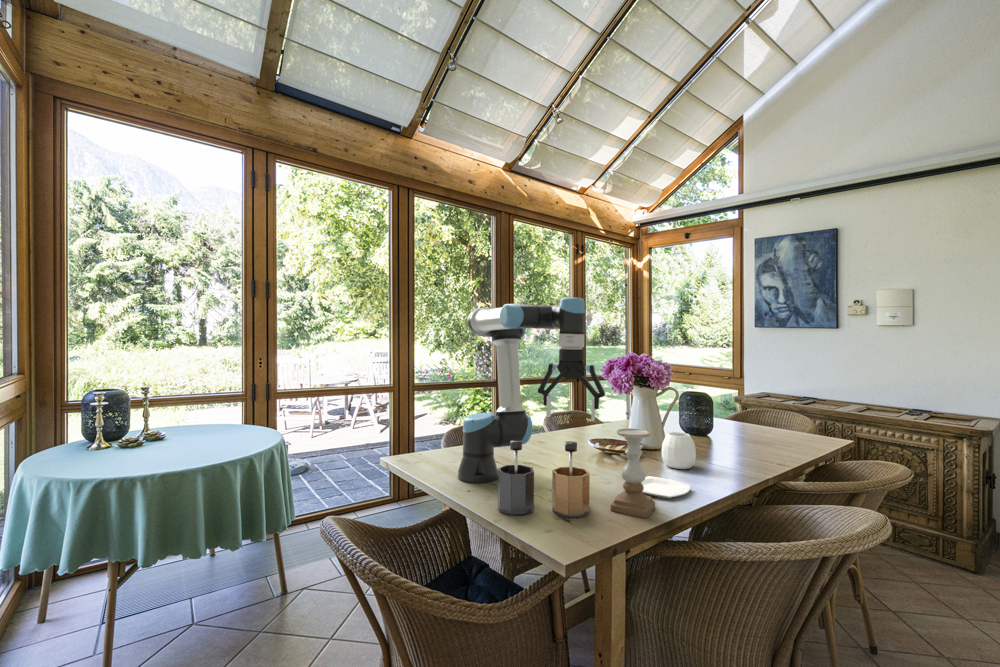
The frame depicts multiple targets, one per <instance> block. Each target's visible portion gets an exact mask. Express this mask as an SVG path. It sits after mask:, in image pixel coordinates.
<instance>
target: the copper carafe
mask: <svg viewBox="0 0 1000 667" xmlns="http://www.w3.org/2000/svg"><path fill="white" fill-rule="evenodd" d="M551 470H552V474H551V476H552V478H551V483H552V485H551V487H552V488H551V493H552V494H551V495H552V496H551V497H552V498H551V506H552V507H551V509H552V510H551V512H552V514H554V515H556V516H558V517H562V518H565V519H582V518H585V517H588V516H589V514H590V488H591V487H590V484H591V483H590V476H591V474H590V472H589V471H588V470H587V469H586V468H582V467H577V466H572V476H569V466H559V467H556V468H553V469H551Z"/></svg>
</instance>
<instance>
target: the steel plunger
mask: <svg viewBox="0 0 1000 667" xmlns="http://www.w3.org/2000/svg"><path fill="white" fill-rule="evenodd" d="M509 447H510V450H511V451H514V465H515V474H517V472H518V465H519V462H518V461H519V460H518V458H519V457H518V454H519V453H518V451H522V450H523V445H522V441H521V440H511V441H510V446H509Z"/></svg>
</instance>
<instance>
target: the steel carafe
mask: <svg viewBox="0 0 1000 667" xmlns="http://www.w3.org/2000/svg"><path fill="white" fill-rule="evenodd" d="M497 469H498V478H497V479H498V482H497V484H498V485H497V487H498V488H497V490H498V491H497V496H498V497H497V511H498V512H499V513H500V514H504V515H505V516H506V515H507V516H511V517H512V516H514V517H521V516H526V515H530V514H532V513H533V512H534V508H535V507H534V506H535V501H534V500H535V499H534V498H535V497H534V496H535V471H534V468H533V467H531V466H527V465H522V464H518V472H517V474H515V464H507V465H503V466H499V467H497Z"/></svg>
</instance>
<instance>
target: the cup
mask: <svg viewBox="0 0 1000 667" xmlns="http://www.w3.org/2000/svg"><path fill="white" fill-rule="evenodd" d="M696 454H697V450H696V444H695V442H694V439H693V438H692V436H691V434H690V433H686V432H680V431H679V432H678V431H672V432H670V431H669V432H667V433H666V435H665V437H664V439H663V441H662V444H661V459H662V462H663V463H664V464H665V465H666V466H667V467H668V468H673V469H677V470H687V469H690V468H692V467H694V464H695V462H696V458H697V457H696Z"/></svg>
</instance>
